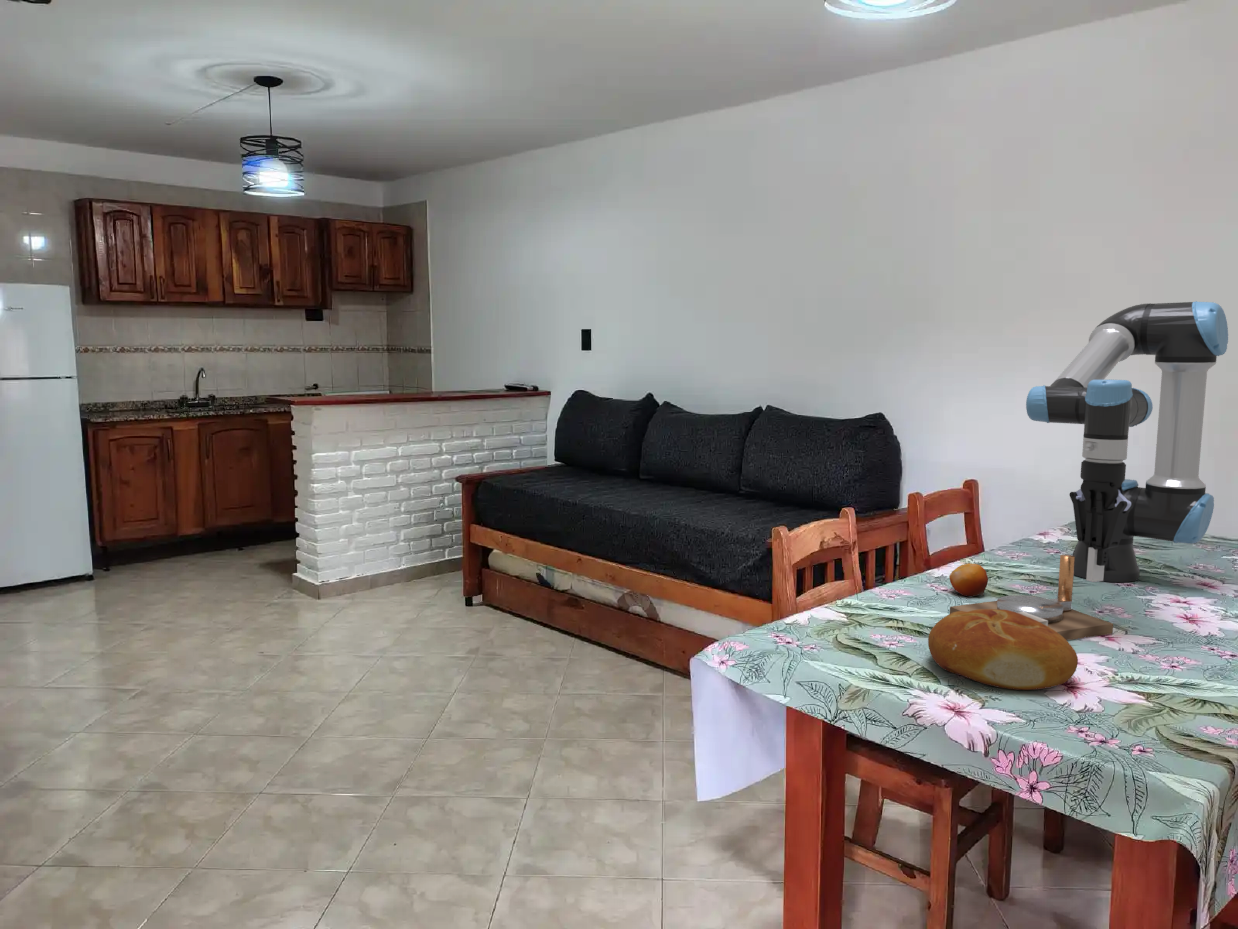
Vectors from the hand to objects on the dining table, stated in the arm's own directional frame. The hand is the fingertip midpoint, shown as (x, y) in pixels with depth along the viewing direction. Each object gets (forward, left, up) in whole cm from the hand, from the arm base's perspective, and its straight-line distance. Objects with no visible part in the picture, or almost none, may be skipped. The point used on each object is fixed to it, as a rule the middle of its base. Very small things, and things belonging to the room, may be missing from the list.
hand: (1094, 580), depth 171 cm
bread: (+33, +11, -11) cm, 36 cm away
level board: (+9, -7, -10) cm, 15 cm away
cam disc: (+6, -7, -8) cm, 12 cm away
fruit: (+5, -29, -10) cm, 31 cm away
